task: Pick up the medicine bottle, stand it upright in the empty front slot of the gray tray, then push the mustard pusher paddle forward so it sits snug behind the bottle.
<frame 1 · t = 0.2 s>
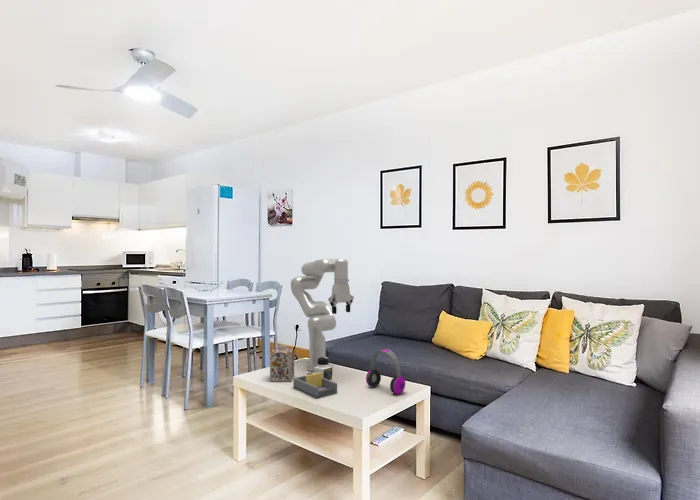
hand: (341, 312, 235), 36 cm above the table, tool pointing down, fingers open, 9 cm apart
gray tray: (314, 390, 213), on the table
pusher: (311, 380, 215), point 5 cm above the table, slide at 0.0 cm
headphones: (385, 390, 214), on the table
medicine bottle: (323, 380, 232), on the table
decorative jar: (282, 379, 234), on the table
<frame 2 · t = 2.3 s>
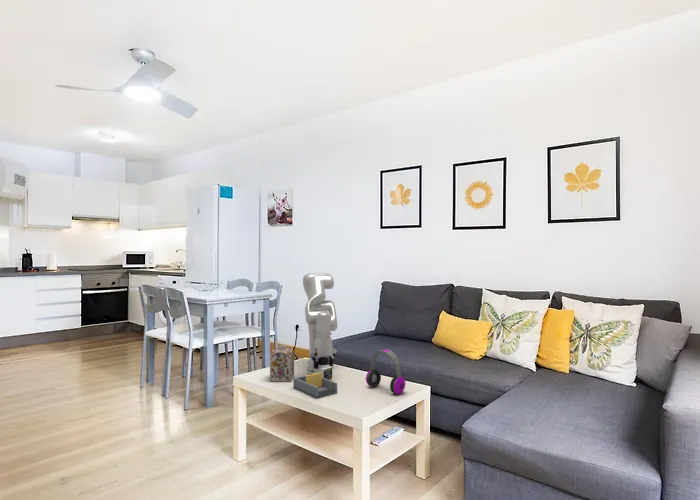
hand: (323, 367, 231), 7 cm above the table, tool pointing down, fingers open, 9 cm apart
medicine bottle: (323, 380, 232), on the table, touching gripper
everything else where it was.
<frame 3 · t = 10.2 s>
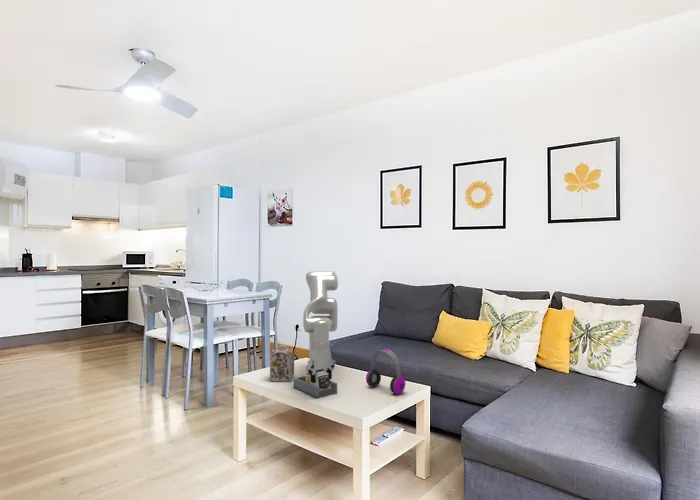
hand: (321, 380, 209), 6 cm above the table, tool pointing down, fingers open, 9 cm apart
medicine bottle: (321, 390, 209), point 2 cm above the table, touching gray tray
everything else where it was.
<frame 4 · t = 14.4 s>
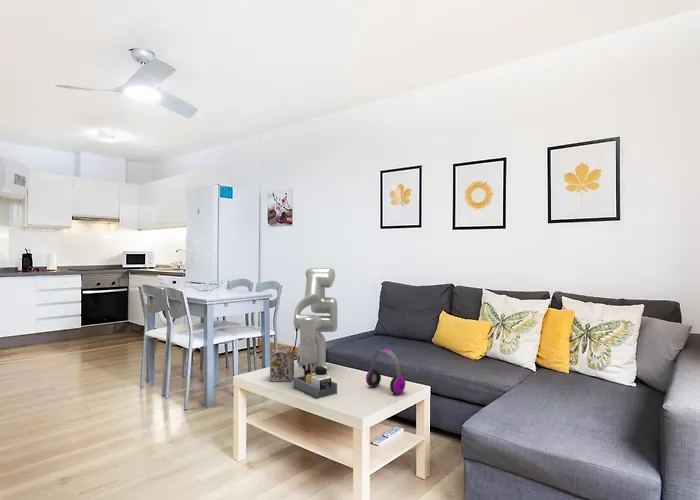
hand: (307, 377, 218), 5 cm above the table, tool pointing down, fingers closed
pusher: (312, 380, 215), point 5 cm above the table, slide at 0.1 cm, touching gripper
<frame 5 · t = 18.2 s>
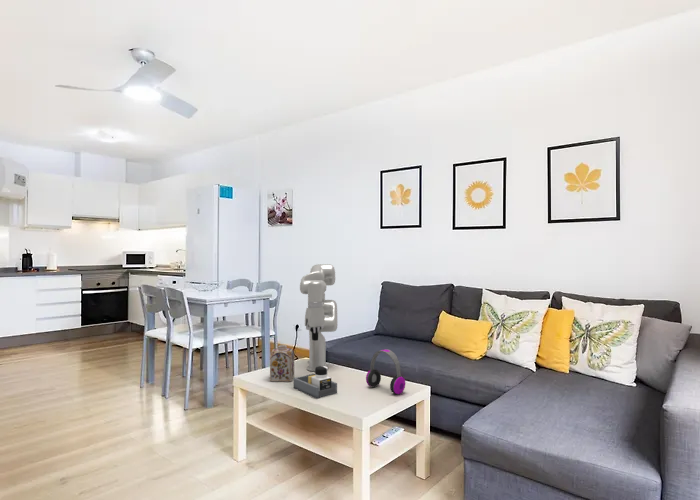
hand: (315, 340, 224), 23 cm above the table, tool pointing down, fingers closed
pusher: (314, 381, 214), point 5 cm above the table, slide at 2.2 cm
at the end: medicine bottle 0.3 cm from the target spot on the gray tray, point 0.8 cm above the gray tray's base; medicine bottle tilted 0°; pusher slide at 2.2 cm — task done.
